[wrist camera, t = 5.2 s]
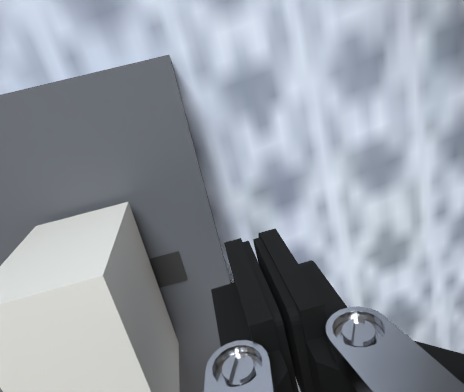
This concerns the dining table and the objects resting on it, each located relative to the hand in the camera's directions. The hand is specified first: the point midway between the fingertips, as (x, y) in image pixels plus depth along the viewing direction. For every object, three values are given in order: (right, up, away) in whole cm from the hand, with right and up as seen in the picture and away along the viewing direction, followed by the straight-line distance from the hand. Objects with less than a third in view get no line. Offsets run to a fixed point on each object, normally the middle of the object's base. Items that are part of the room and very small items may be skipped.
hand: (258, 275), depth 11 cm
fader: (-5, -1, +1) cm, 5 cm away
